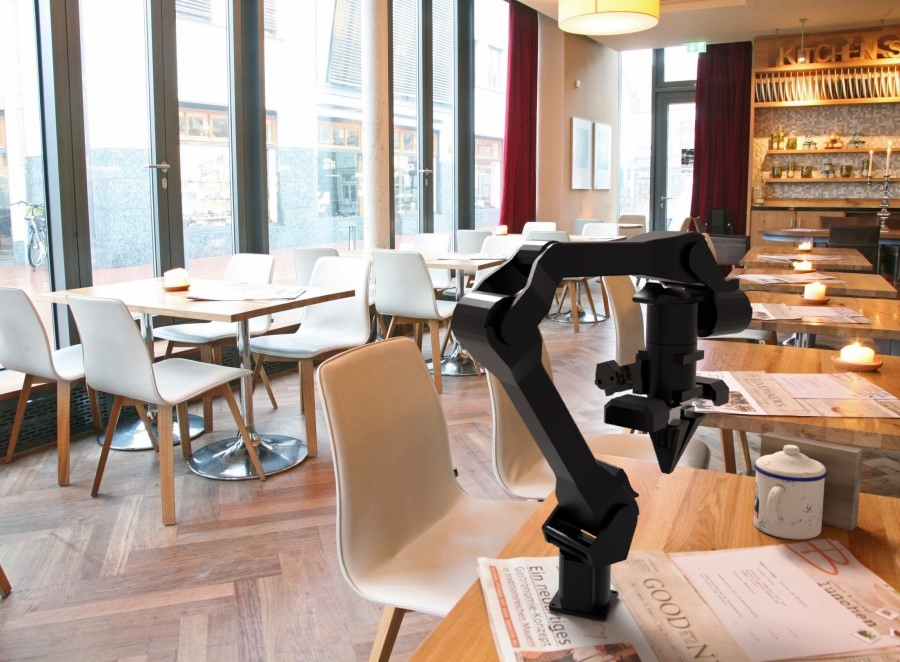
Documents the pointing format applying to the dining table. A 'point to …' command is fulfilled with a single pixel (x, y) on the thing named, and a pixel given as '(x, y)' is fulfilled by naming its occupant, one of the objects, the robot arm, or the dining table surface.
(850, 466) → the bookend
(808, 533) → the teacup with lid
